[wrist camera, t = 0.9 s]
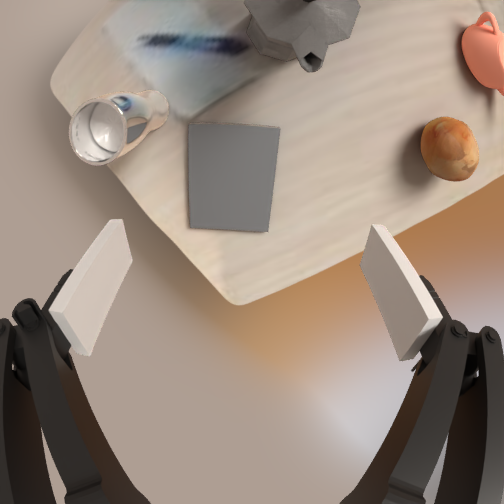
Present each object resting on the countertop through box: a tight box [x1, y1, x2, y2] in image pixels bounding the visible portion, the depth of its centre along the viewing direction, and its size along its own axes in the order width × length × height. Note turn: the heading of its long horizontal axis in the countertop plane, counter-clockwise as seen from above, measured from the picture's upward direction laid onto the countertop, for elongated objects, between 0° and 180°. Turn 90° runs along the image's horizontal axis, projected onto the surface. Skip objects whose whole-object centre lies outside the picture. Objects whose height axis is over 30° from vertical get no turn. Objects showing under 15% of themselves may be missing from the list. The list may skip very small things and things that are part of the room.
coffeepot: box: [244, 0, 360, 72], centre depth 18 cm, size 15×9×18 cm, turn 6°
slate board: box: [188, 123, 280, 232], centre depth 38 cm, size 16×12×1 cm
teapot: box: [462, 12, 504, 96], centre depth 19 cm, size 12×18×10 cm
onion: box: [420, 117, 479, 181], centre depth 30 cm, size 10×10×10 cm
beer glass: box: [69, 90, 169, 166], centre depth 26 cm, size 7×7×15 cm
